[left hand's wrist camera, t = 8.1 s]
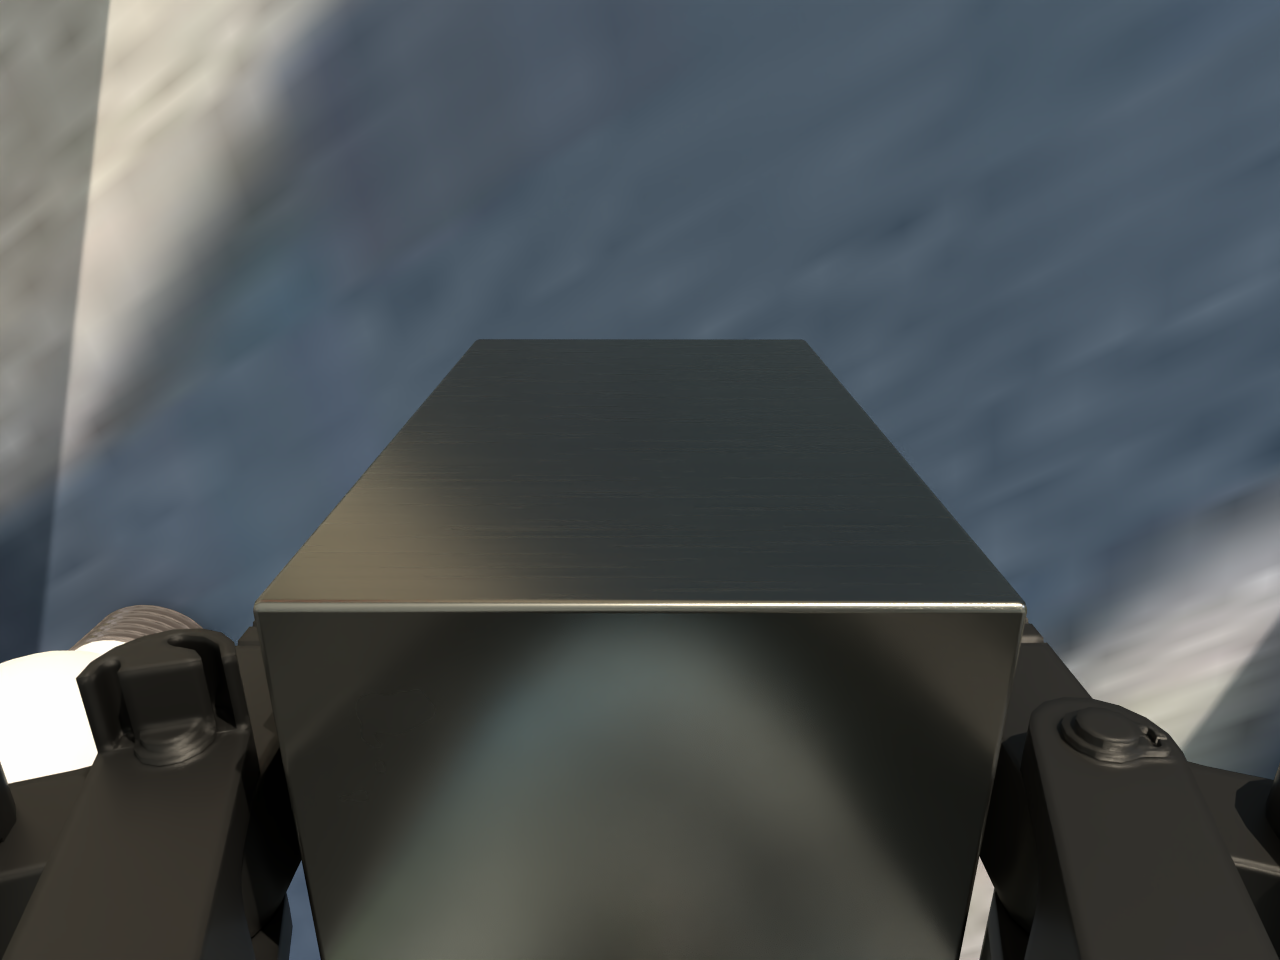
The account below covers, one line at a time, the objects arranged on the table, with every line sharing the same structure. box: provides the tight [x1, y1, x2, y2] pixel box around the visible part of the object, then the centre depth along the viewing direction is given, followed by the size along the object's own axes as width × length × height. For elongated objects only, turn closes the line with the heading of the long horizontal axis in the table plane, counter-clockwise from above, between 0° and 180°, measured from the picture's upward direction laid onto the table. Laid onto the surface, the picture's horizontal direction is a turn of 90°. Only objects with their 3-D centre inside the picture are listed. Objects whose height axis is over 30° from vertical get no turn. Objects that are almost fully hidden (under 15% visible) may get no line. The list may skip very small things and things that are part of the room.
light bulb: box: [0, 605, 203, 784], centre depth 25 cm, size 7×7×11 cm
